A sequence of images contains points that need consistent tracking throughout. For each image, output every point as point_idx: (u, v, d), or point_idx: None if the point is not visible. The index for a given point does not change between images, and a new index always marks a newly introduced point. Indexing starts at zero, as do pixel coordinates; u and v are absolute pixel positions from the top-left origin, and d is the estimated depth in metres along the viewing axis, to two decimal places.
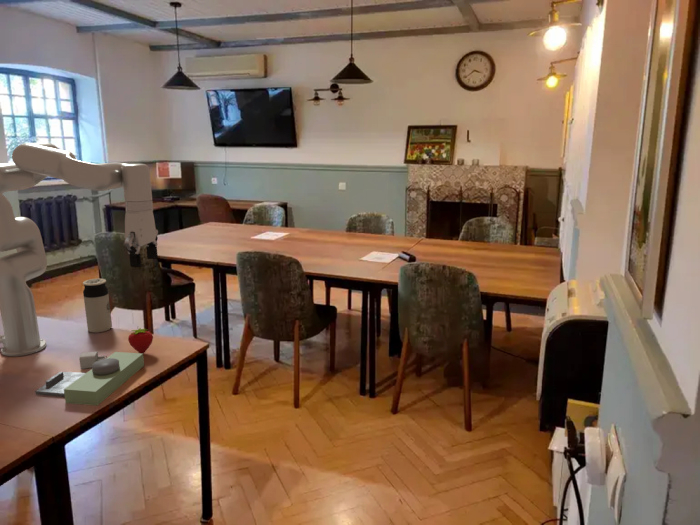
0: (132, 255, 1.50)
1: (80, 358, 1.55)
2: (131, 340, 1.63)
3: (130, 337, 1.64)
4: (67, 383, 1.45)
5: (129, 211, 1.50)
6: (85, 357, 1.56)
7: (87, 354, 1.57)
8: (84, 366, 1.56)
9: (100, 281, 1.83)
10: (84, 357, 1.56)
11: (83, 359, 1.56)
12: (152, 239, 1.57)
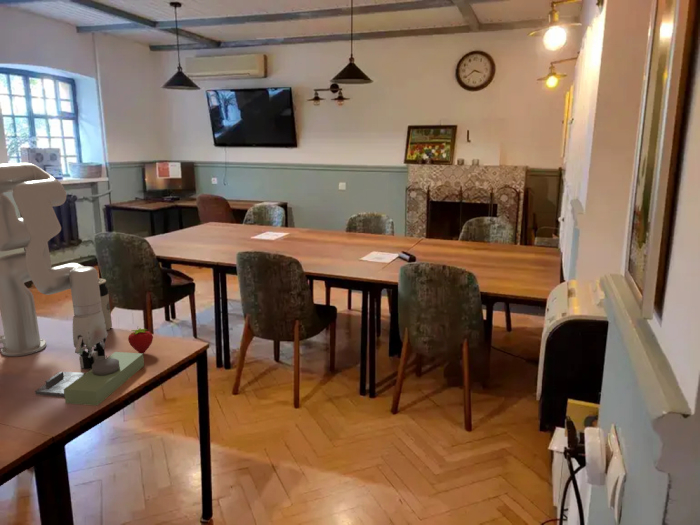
0: (85, 358, 1.54)
1: (80, 357, 1.56)
2: (131, 340, 1.63)
3: (130, 337, 1.64)
4: (67, 383, 1.45)
5: (77, 315, 1.51)
6: None
7: None
8: None
9: (100, 281, 1.83)
10: None
11: None
12: (102, 338, 1.58)
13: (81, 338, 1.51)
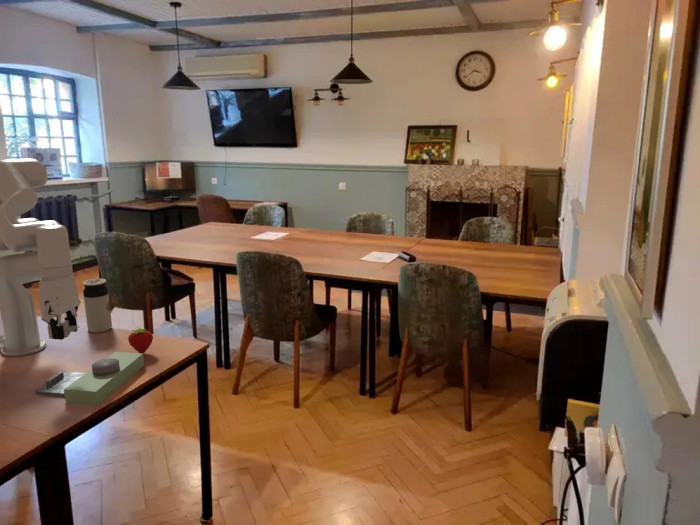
0: (53, 327, 1.38)
1: (48, 326, 1.39)
2: (131, 340, 1.63)
3: (130, 337, 1.64)
4: (67, 383, 1.45)
5: (44, 278, 1.35)
6: None
7: None
8: None
9: (100, 281, 1.83)
10: None
11: None
12: (73, 305, 1.42)
13: (48, 304, 1.35)
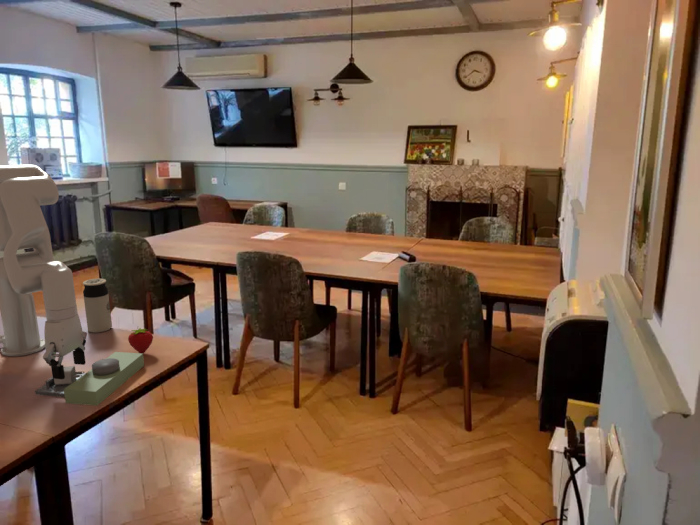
0: (54, 367, 1.39)
1: None
2: (131, 340, 1.63)
3: (130, 337, 1.64)
4: None
5: (49, 320, 1.38)
6: None
7: None
8: (58, 382, 1.44)
9: (100, 281, 1.83)
10: None
11: None
12: (78, 345, 1.45)
13: None
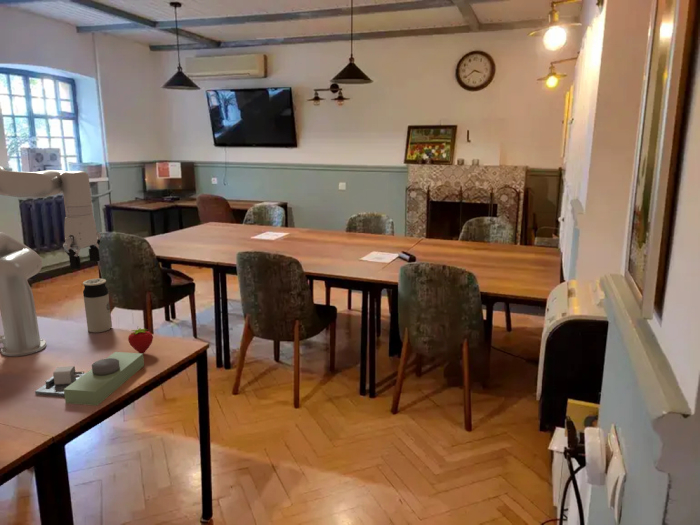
0: (71, 257, 1.59)
1: (54, 373, 1.43)
2: (131, 340, 1.63)
3: (130, 337, 1.64)
4: None
5: (68, 216, 1.58)
6: (59, 372, 1.43)
7: (62, 369, 1.45)
8: (58, 382, 1.44)
9: (100, 281, 1.83)
10: (58, 372, 1.43)
11: (57, 374, 1.43)
12: (93, 242, 1.65)
13: None
